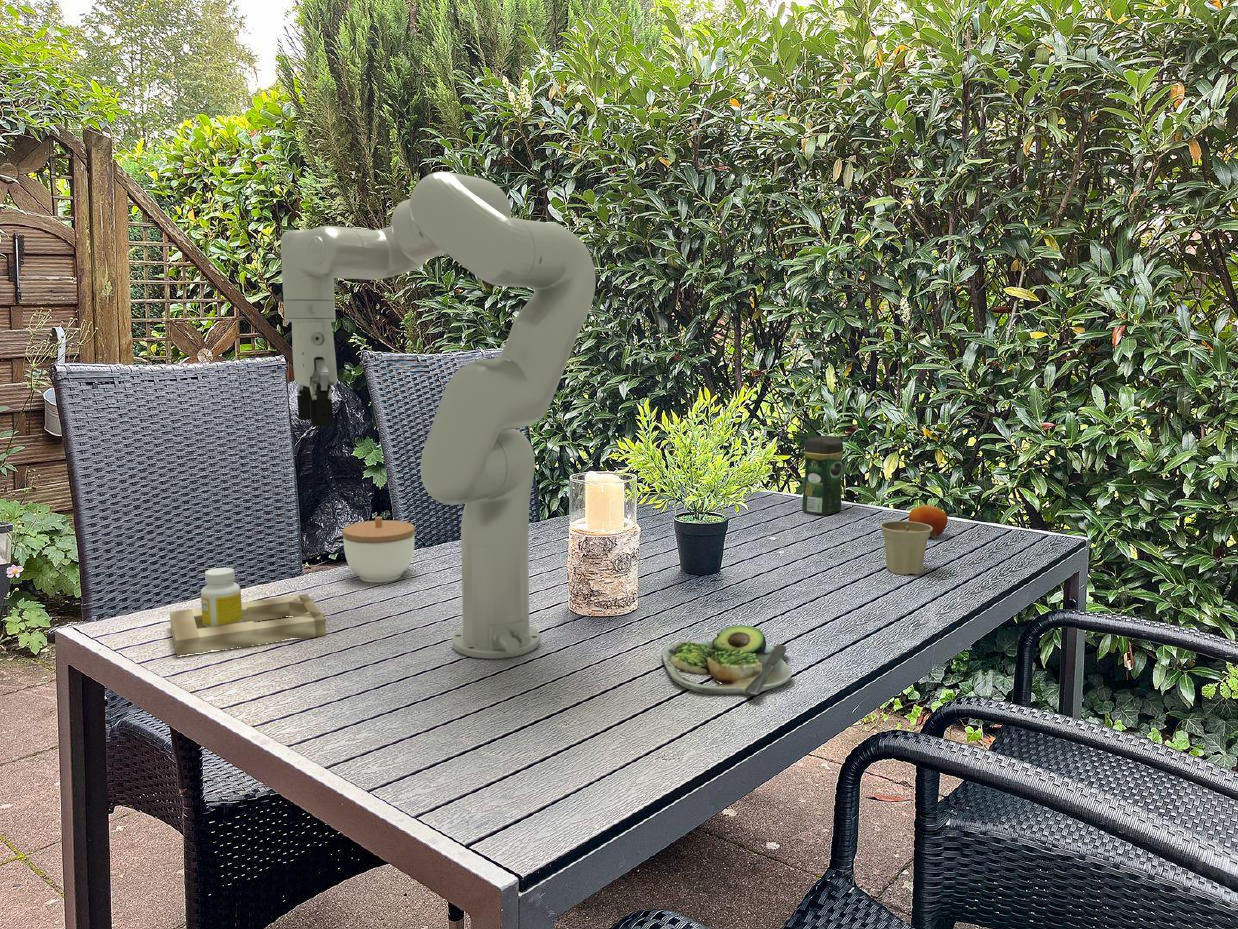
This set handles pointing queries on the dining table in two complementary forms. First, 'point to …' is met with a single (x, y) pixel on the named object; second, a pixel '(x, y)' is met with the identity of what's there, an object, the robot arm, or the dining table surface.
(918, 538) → the flower pot
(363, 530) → the lidded bowl
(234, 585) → the supplement bottle
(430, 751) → the dining table surface
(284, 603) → the beige flat rectangular frame
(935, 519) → the fruit
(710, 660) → the avocado toast plate
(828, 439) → the coffee jar
